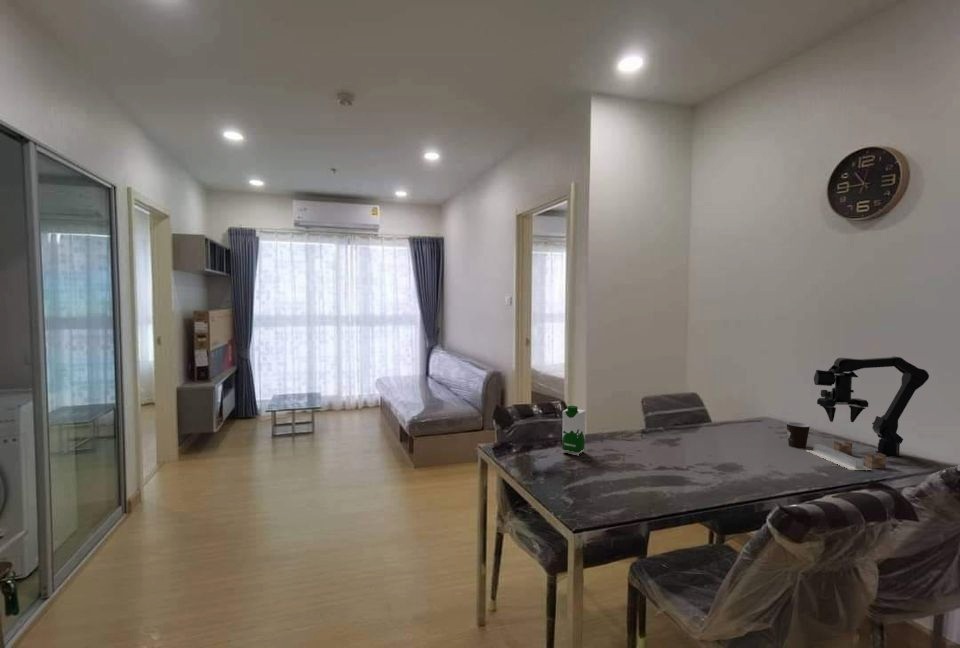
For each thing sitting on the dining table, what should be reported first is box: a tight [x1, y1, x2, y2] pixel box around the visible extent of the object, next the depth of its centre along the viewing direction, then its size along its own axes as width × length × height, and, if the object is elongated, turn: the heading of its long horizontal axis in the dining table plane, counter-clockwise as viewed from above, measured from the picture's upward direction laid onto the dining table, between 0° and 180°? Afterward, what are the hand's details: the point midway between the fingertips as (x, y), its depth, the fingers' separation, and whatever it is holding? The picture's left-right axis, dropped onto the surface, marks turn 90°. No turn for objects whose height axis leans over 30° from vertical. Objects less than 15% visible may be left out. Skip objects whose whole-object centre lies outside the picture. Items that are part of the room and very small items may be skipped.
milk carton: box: [561, 405, 587, 452], centre depth 192 cm, size 9×9×20 cm
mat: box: [805, 449, 872, 472], centre depth 188 cm, size 8×24×1 cm, turn 1°
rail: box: [813, 443, 864, 469], centre depth 188 cm, size 3×22×3 cm, turn 1°
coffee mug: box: [786, 421, 811, 449], centre depth 208 cm, size 12×9×10 cm
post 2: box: [864, 452, 887, 469], centre depth 180 cm, size 6×3×5 cm, turn 91°
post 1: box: [833, 440, 853, 456], centre depth 196 cm, size 6×3×5 cm, turn 91°
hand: (841, 421), depth 201 cm, fingers open, 9 cm apart
